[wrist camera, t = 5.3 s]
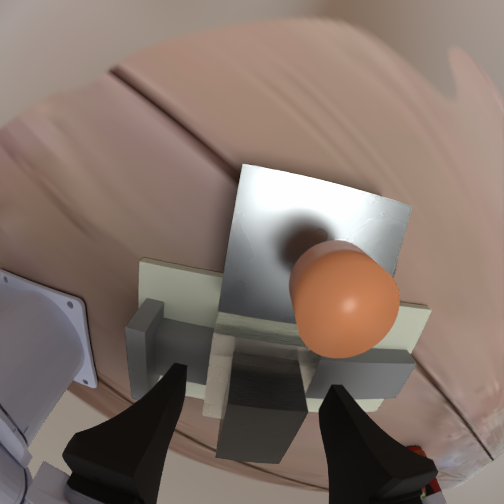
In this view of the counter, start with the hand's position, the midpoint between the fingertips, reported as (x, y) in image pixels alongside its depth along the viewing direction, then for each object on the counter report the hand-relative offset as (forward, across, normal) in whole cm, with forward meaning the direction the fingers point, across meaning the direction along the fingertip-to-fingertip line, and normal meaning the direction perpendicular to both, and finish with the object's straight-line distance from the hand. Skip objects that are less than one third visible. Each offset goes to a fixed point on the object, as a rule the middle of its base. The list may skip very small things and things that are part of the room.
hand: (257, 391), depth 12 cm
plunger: (-2, -1, -7) cm, 7 cm away
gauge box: (+3, -1, -7) cm, 8 cm away
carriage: (+3, 0, 0) cm, 3 cm away
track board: (+3, -2, 0) cm, 4 cm away
